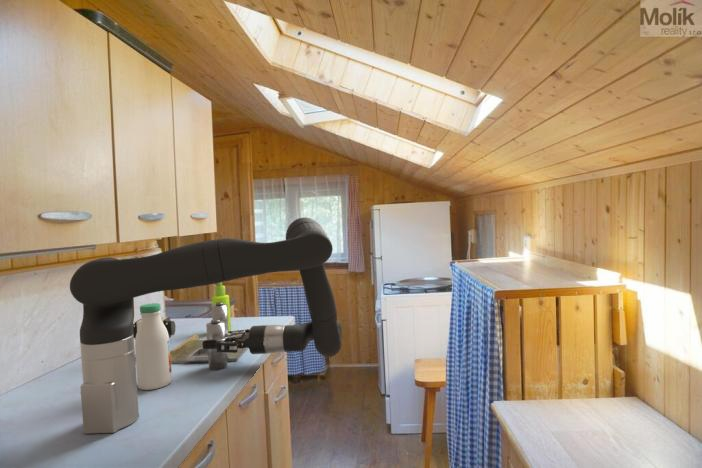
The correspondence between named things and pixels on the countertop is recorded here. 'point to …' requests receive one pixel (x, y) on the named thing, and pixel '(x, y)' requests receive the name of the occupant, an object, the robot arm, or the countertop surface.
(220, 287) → the soap dispenser
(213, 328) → the cylinder
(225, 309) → the carrier plate
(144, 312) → the milk bottle
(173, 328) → the pneumatic valve
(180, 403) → the countertop surface
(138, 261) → the robot arm
